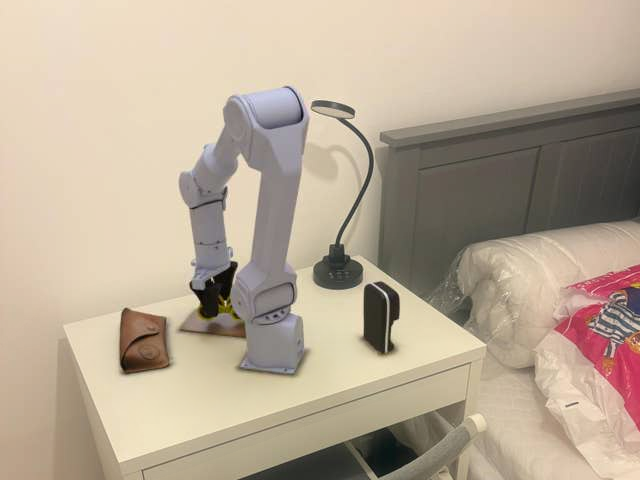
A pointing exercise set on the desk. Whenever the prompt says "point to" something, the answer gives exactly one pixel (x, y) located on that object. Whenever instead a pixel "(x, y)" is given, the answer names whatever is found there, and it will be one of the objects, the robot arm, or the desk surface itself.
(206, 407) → the desk surface
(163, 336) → the sunglasses case
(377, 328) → the battery charger
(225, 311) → the opera glasses
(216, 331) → the copper plate
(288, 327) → the robot arm
